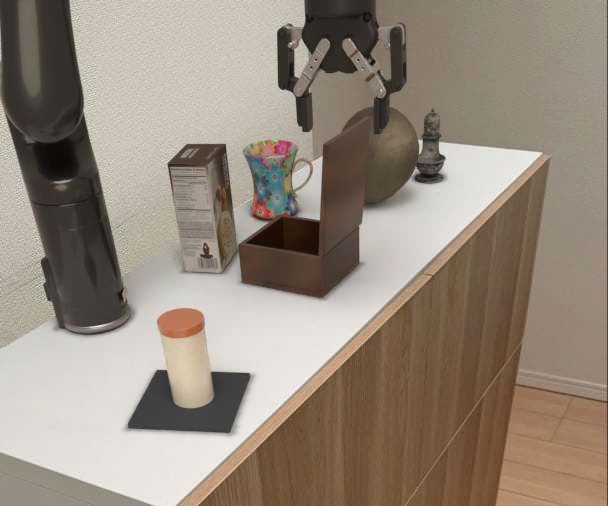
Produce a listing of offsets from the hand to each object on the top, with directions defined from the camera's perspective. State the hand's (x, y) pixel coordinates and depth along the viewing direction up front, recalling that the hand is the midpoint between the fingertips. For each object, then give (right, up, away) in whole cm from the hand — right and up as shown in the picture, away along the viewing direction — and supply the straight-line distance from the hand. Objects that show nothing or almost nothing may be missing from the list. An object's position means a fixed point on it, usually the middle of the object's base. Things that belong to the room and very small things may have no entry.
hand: (342, 131), depth 89 cm
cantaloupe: (+8, +13, +48) cm, 51 cm away
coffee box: (-19, -3, +33) cm, 38 cm away
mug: (-8, +10, +46) cm, 48 cm away
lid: (+1, +1, +16) cm, 16 cm away
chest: (-5, -7, +28) cm, 29 cm away
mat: (-18, -31, +3) cm, 36 cm away
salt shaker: (+19, +21, +56) cm, 62 cm away
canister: (-18, -30, +3) cm, 35 cm away
